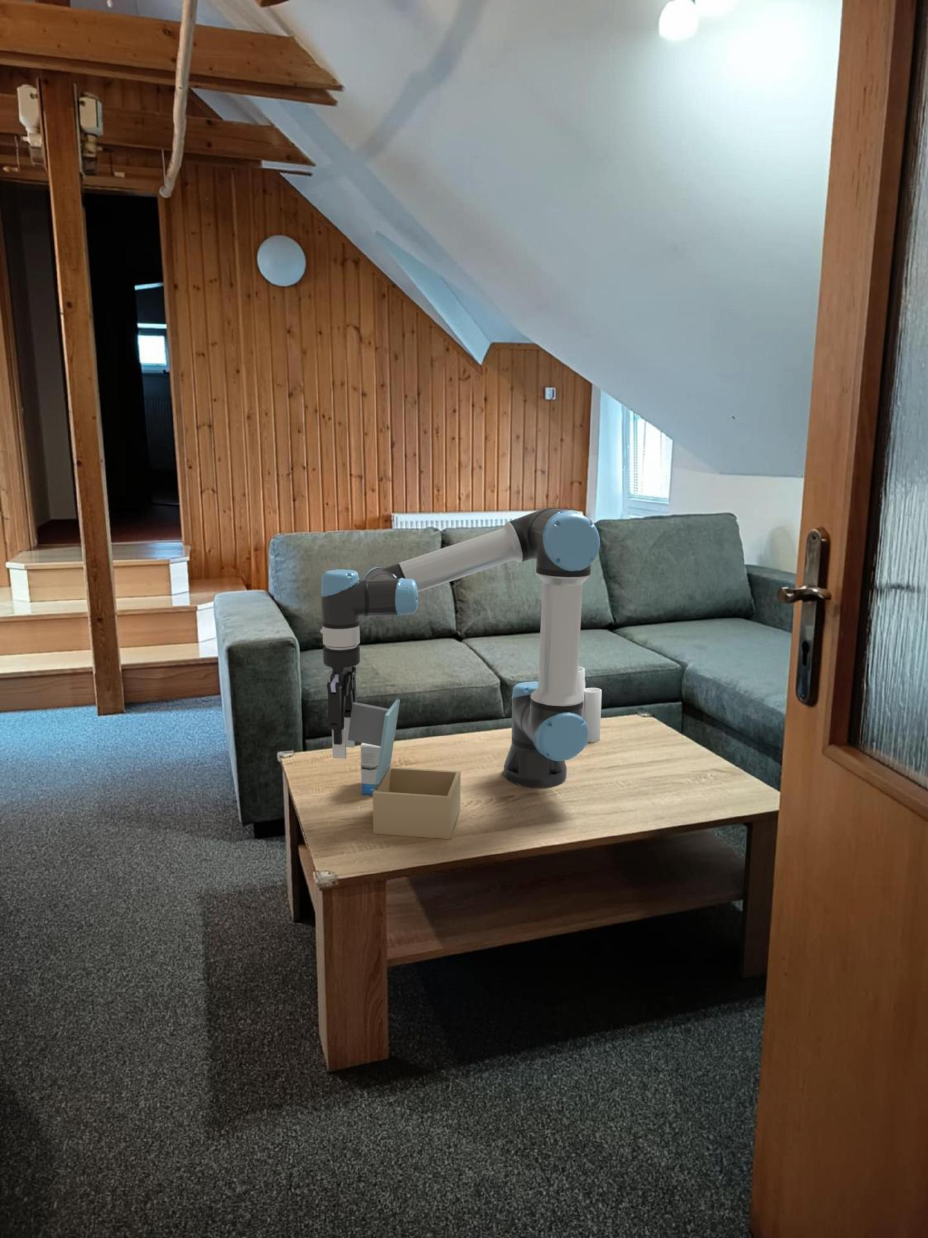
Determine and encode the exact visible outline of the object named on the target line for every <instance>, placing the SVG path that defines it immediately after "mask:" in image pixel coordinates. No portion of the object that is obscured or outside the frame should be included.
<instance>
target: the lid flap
mask: <svg viewBox="0 0 928 1238" xmlns="http://www.w3.org/2000/svg"><path fill="white" fill-rule="evenodd" d="M400 703H401V699H399V698H396V699H395V701H393V704H392V705H391V706H390V707H389V708H386V707H382V706H376V705H371V704H366V703H361V702H354V703H353V704H352V711H351V718H350V726H349V734H348V740H351V741H355V742H357V743H360V744H362V743H366V744H370V745H375V746H380V754H379V761H378V768H377V775H376V782H375V784H376V785H375V789H376V790H377V789H378V788H379V786H380V785H381V783H382V781H383V780H384V778H385V776H386V775H387V773H388V771H389V769H390V767H391V766H392V765H391V764H392V758H393V752H394V751H393V750H394V743H395V736H396V729H397V723H398V716H399V710H400Z"/></svg>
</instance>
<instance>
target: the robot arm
mask: <svg viewBox="0 0 928 1238" xmlns="http://www.w3.org/2000/svg"><path fill="white" fill-rule="evenodd" d="M600 547H601V539H600V534H599V531H598V529H597V527H596V525H595V524H594V522H592V520H591V519H589V518H588V517H586V515H584V514H581V513H580V512H577V511H574V510H569V509H563V508H560V507H546V508H541V509H539V510H536V511H533V512H531V513H528V514H526V515H523V516H520V517H518V518H514V519H512V520H510V521H509V520H508V521H506V522H505V524H504V525H503V527H502V528H500V529H497V530H494V531H491V532H490V531H489V532H487V533H485V534H481V535H478V536H475V537H472V538H469V539H467V540H464V541H463V540H462V541H460V542H458V543H454V544H452V545H448V546H445V547H442V548H440V549H437V550H434V551H431V552H428V553H424V554H422V555H419V556H415V557H412V558H410V559H406V560H404V561H401V562H398V563H395V564H392V565H388V566H385V567H384V566H381V567H380V566H377V567H373V568H370V569H369V570H368V571H367V572H366V574H365V575H364V577H363V579H360V576H359V573H358V571H357V570H353V569H331V570H327V571H325V572H323V574H322V576H321V582H320V583H321V584H320V585H321V588H320V590H321V591H320V596H321V597H320V601H321V603H320V604H321V622H322V624H321V625H322V628H321V629H320V631H319V632H320V633H321V634H322V645H324V646H323V648H322V662H323V664H324V666H326V667H329V668H331V670H332V671H331V673H330V676H329V678H330V679H329V681H327V683H326V688H327V718H328V719H327V723H328V724H327V730H331V741H332V743H331V744H332V759H342V760H343V759H345V760H346V759H347V748H355V746H356V745H355V742H356V741H351V740H348V734H349V726H350V718H351V711H352V704H353V703H354V702H357V701H358V700H357V667H356V666H358V665H359V664H360V663H361V649H360V646H359V644H360V643H361V639H360V638H361V637H360V636H361V635H360V632H361V631H360V617H364V618H366V617H390V616H391V617H392V616H396V617H397V616H398V617H402V616H407V615H414V614H415V613H416V612H417V609H418V605H419V593H420V592H423V591H426V590H429V589H432V588H435V587H437V586H441V585H444V584H446V583H447V584H448V583H449V582H452V581H456V580H458V579H461V578H464V577H467V576H470V575H474V574H476V573H479V572H482V571H486V570H488V569H491V568H494V567H497V566H501V565H503V564H505V563H509V562H512V561H514V562H517V563H522V562H526V561H529V560H535V559H536V562H535V563H536V567H535V568H536V569H535V574H536V576H537V577H538V578H540V580H541V582H542V589H541V592H542V593H541V611H540V612H541V613H540V630H539V631H540V634H539V636H540V637H539V652H538V653H539V657H538V678H537V680H534V681H525V682H524V681H523V682H519V683H517V684H514V686H513V688H512V696H511V701H512V702H511V704H512V705H511V745H510V747H509V750H508V752H507V755H506V757H505V762H504V764H503V776H504V778H505V779H506V780H507V781H509V782H510V783H512V784H515V785H518V786H522V787H527V788H528V787H529V788H548V787H553V786H554V787H555V786H556V785H559V784H561V783H563V782H564V781H566V779H567V777H568V776H567V770H568V769H567V768H568V767H567V764H566V762H565V761H568V760H571V759H573V758H575V757H577V756H578V755H579V754H580V753H581V752H582V751H583V750H584V749H585V747H586V746H587V743H588V742H587V741H588V737H589V730H588V726H587V723H586V721H585V720H584V719H583V696H582V695H581V694H580V693H579V692H578V691H577V680H578V666H579V661H580V660H579V659H580V658H579V657H580V656H579V655H580V641H581V623H582V622H581V621H582V607H583V605H582V604H583V603H582V601H583V587H584V582H586V581H587V580H588V579H589V578H590V577H591V571H592V563H593V562H595V561H594V560H596V558H597V557H598V554H599V552H600ZM357 703H358V702H357Z"/></svg>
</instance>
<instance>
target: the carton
mask: <svg viewBox="0 0 928 1238" xmlns="http://www.w3.org/2000/svg"><path fill="white" fill-rule="evenodd" d="M461 774H462V773H461V771H459V770H447V769H446V770H443V769H427V768H412V767H411V768H410V767H396V766H390V769H389V771H388V773H387V775H386V776H385V778H384V780H383V781H382V783H381V785H380V786H379V788H378V789H377V790H376V789H375V790H374V792H373V795H372V822H373V823H372V824H373V835H383V836H384V835H387V836H398V837H399V836H400V837H412V838H425V839H441V840H442V839H443V840H451V839H452V836H453V833H454V830H455V827H456V824H457V821H458V818H459V815H460V812H461V784H462V783H461V782H462V781H461V779H462V778H461Z"/></svg>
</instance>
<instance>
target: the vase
mask: <svg viewBox="0 0 928 1238" xmlns="http://www.w3.org/2000/svg"><path fill="white" fill-rule="evenodd" d="M585 677H586V668H584V667H582V666H579V665H578V680H577V691H578V692H579V693H580V694H581V695H582V696H583V719H584V720H585V721H586V723H587V726H588V730H589V737H588V741H587V743H598V742H599V741H600V740H601V739H600V738H601V720H602V718H601V716H602V715H601V714H602V696H603V695H602V693H603V692H602V691H603V690H602V689H601V688H598V687H586V679H585Z"/></svg>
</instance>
